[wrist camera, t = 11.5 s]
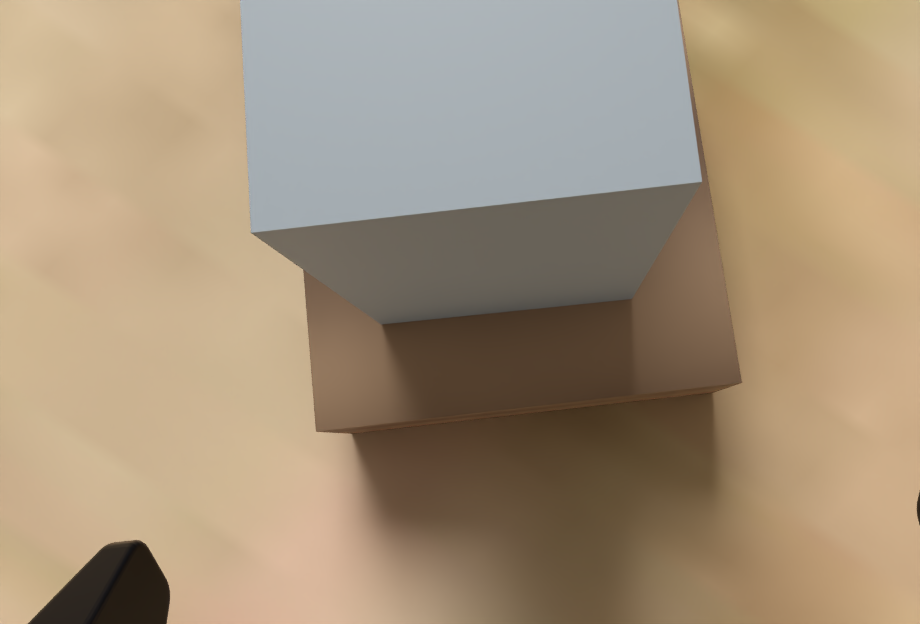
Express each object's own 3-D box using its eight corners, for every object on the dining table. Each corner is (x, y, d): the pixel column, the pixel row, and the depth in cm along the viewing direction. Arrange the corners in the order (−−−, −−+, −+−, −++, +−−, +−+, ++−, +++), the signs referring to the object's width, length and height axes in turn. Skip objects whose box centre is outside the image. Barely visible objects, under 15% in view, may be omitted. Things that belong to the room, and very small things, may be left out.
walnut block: (710, 393, 23) (742, 382, 19) (355, 433, 24) (316, 431, 20) (656, 56, 25) (675, -17, 21) (327, 106, 26) (286, 45, 22)
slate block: (631, 299, 20) (702, 181, 11) (381, 324, 20) (250, 232, 11) (602, 60, 21) (645, -227, 12) (364, 90, 21) (232, -162, 12)
